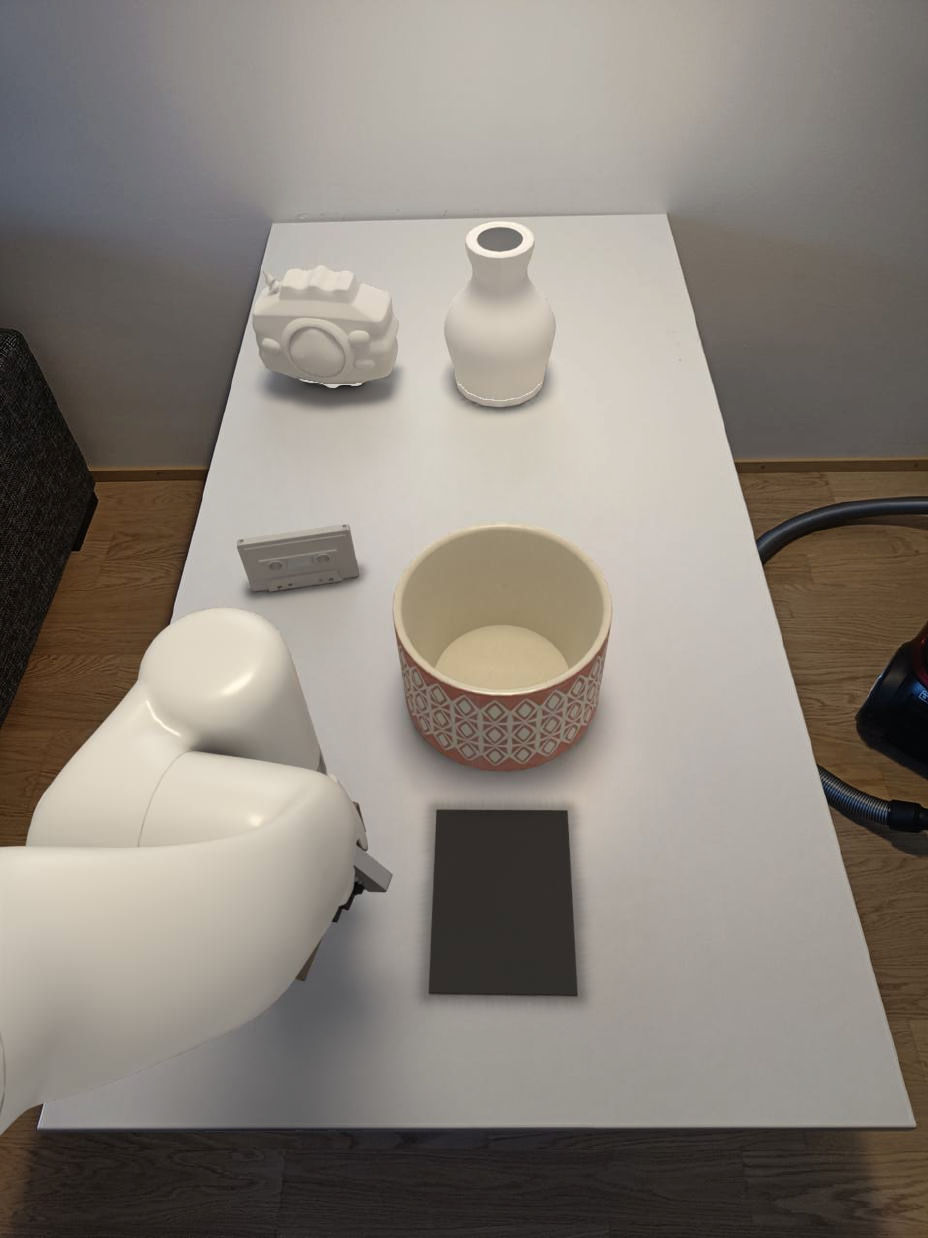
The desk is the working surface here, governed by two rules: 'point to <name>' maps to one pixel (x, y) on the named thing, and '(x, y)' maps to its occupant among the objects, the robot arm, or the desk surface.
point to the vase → (499, 319)
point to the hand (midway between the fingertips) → (311, 893)
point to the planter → (502, 644)
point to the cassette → (299, 558)
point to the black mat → (502, 904)
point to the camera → (325, 327)
